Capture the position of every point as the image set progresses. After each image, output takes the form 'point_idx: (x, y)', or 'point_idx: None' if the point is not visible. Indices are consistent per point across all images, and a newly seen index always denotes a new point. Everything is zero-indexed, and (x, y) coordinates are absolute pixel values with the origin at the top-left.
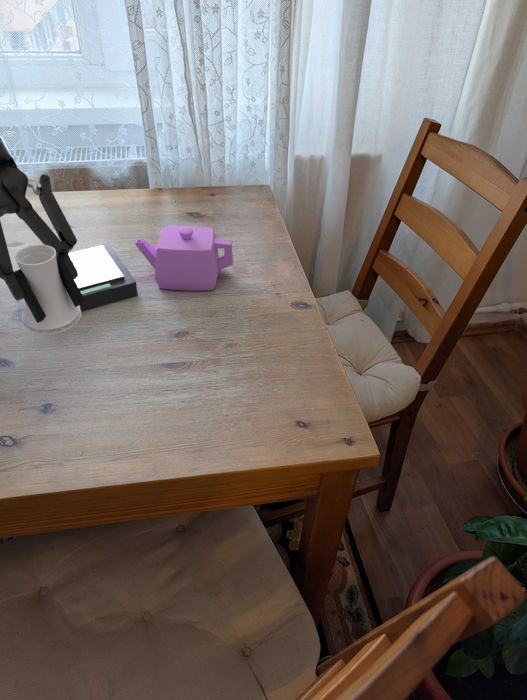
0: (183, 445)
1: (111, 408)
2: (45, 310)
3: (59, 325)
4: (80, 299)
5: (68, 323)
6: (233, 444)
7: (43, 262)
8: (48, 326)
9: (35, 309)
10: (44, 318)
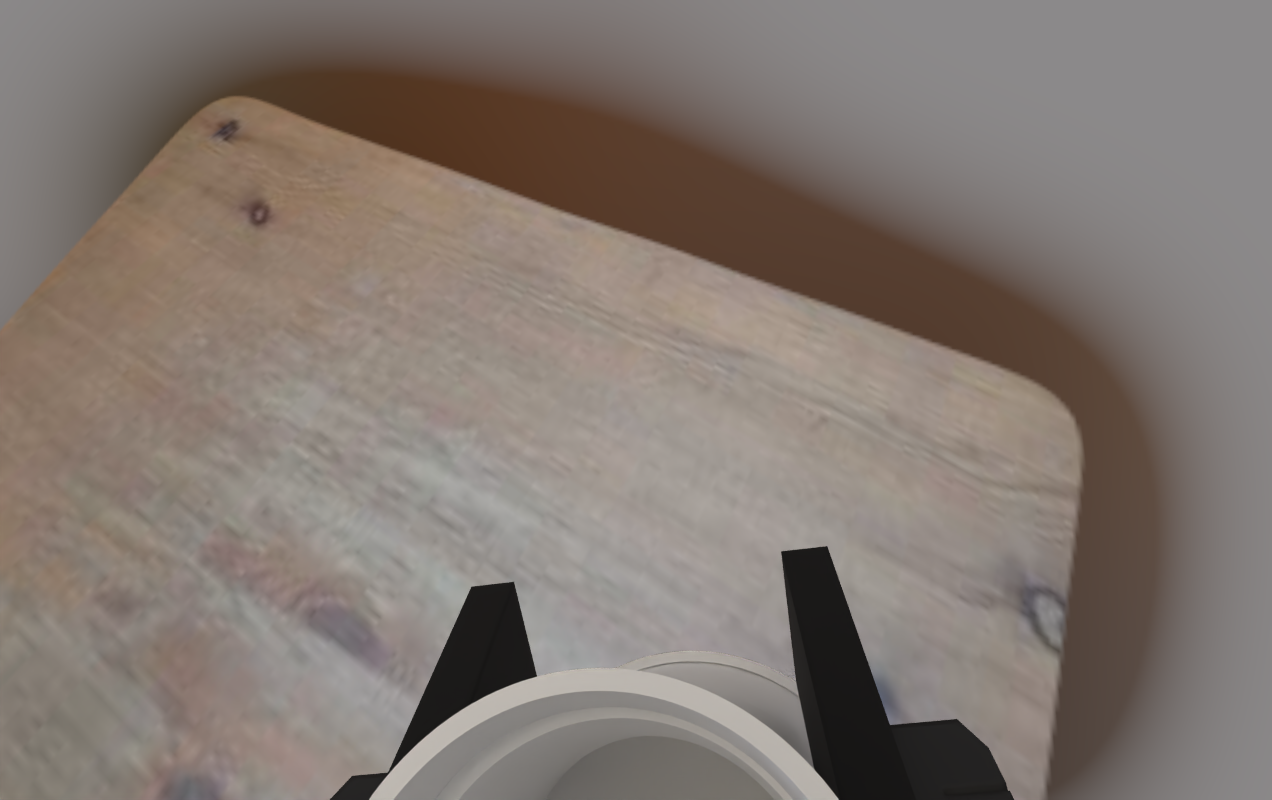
0: (545, 301)
1: (653, 555)
2: (752, 715)
3: (702, 662)
4: (494, 593)
5: (645, 659)
6: (437, 242)
7: (585, 676)
8: (769, 687)
9: (842, 592)
10: (777, 710)
